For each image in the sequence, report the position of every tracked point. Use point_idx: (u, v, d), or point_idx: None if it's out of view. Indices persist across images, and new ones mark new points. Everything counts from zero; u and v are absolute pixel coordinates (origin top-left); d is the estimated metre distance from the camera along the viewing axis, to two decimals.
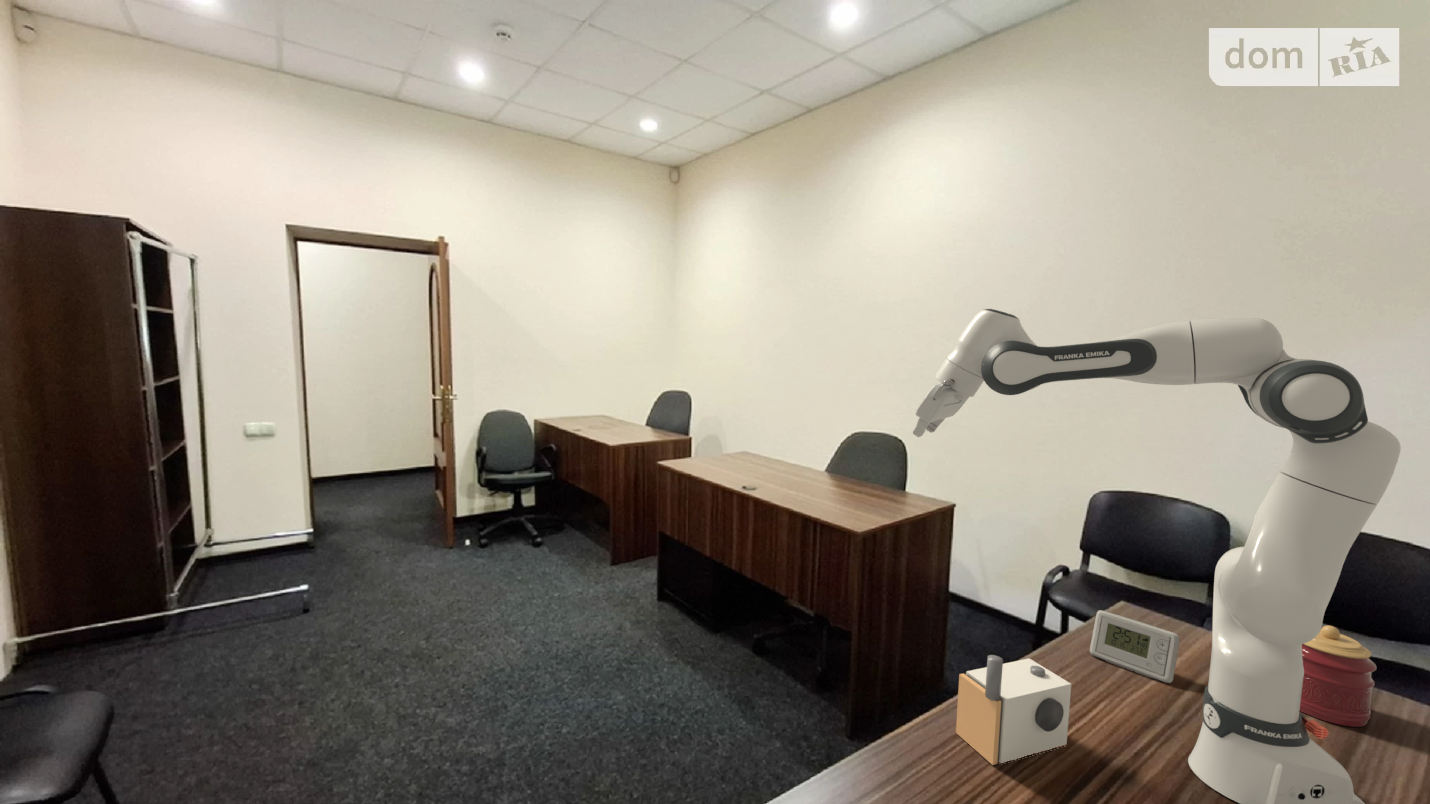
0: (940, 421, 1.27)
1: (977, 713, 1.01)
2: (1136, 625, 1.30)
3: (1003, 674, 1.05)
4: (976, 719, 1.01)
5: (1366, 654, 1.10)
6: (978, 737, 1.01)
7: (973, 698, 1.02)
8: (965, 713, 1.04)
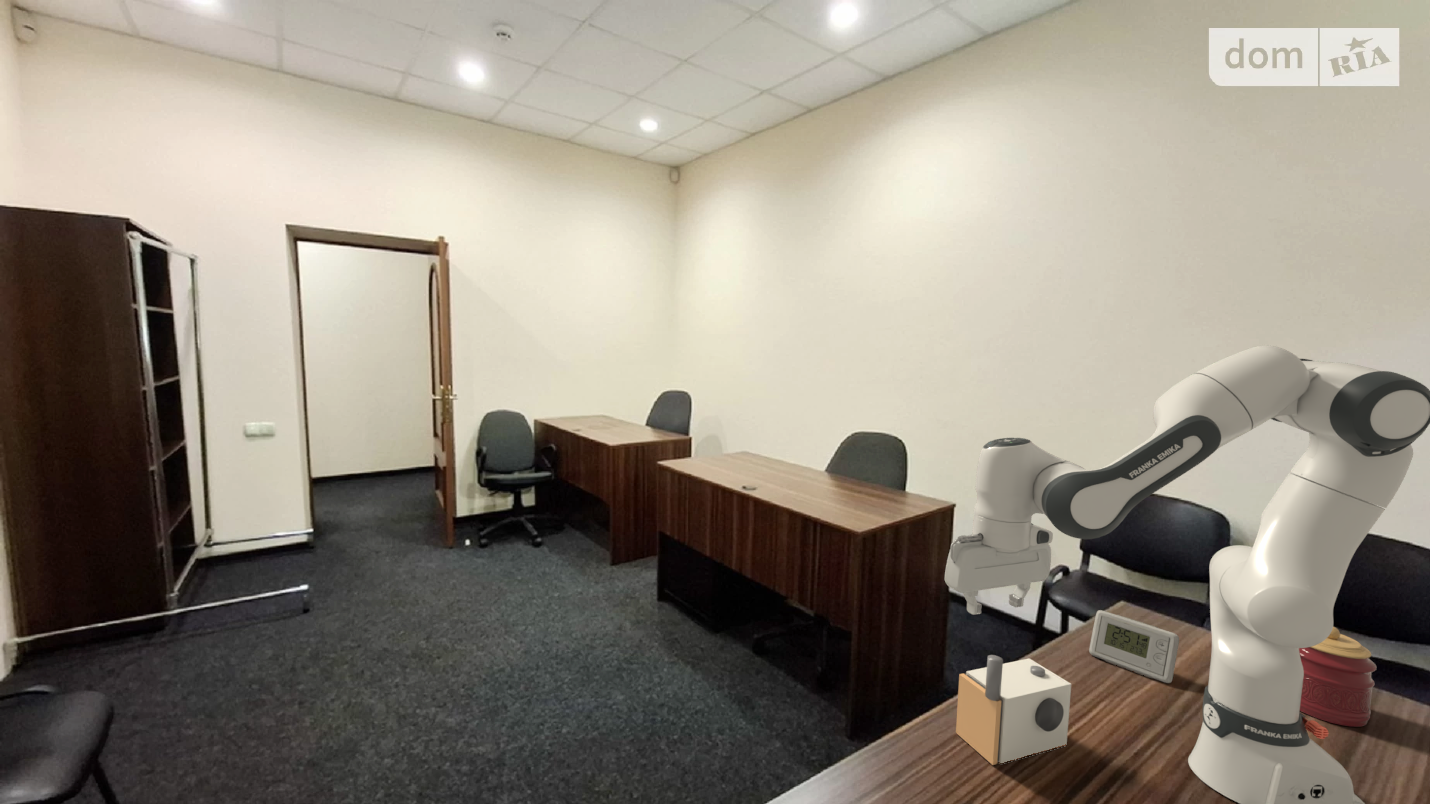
0: (1024, 590, 0.98)
1: (977, 713, 1.01)
2: (1136, 625, 1.30)
3: (1003, 674, 1.05)
4: (976, 719, 1.01)
5: (1366, 654, 1.10)
6: (978, 737, 1.01)
7: (973, 698, 1.02)
8: (965, 713, 1.04)
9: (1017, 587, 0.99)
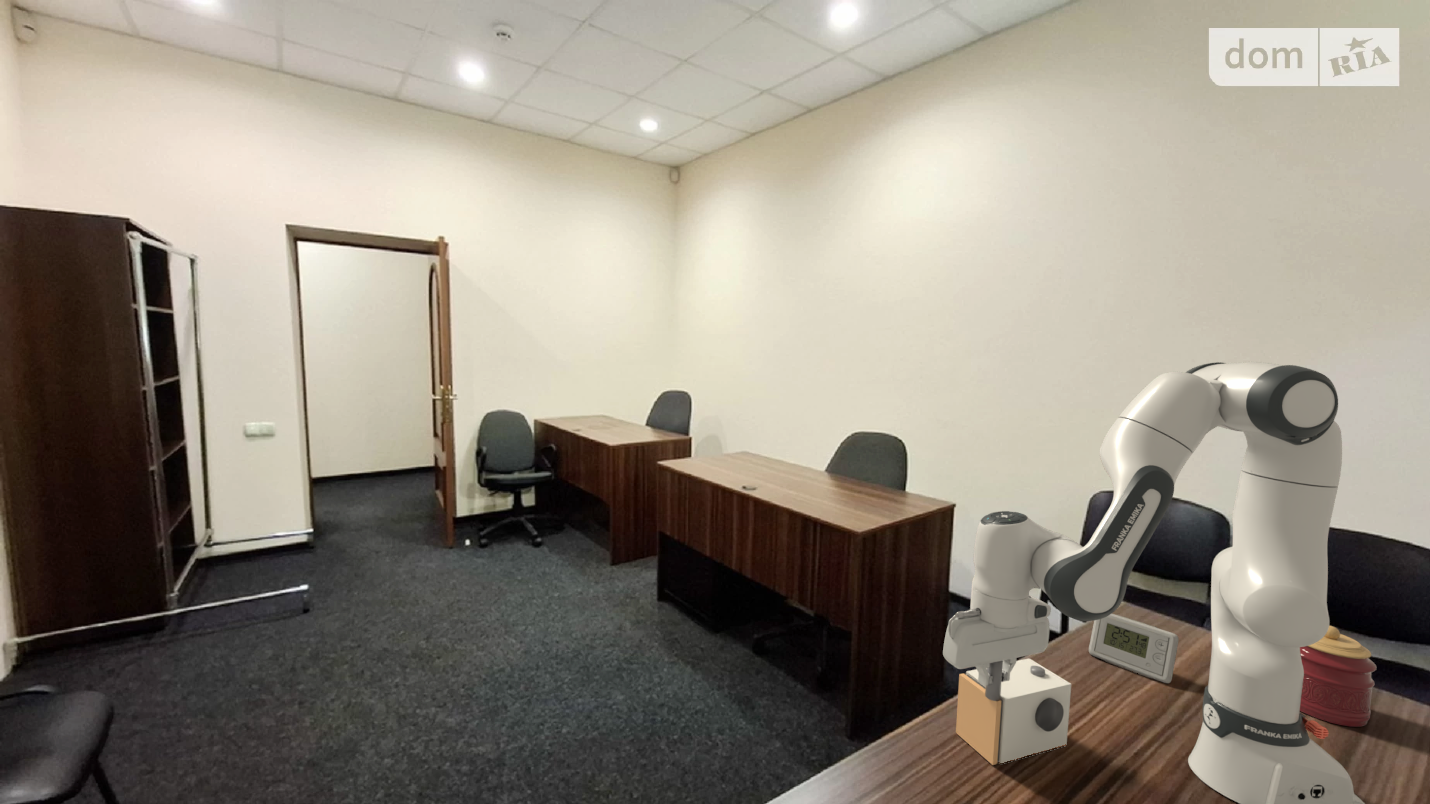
0: (1010, 664, 0.98)
1: (977, 713, 1.01)
2: (1135, 625, 1.30)
3: None
4: (976, 719, 1.01)
5: (1366, 654, 1.10)
6: (978, 737, 1.01)
7: (973, 698, 1.02)
8: (965, 713, 1.04)
9: (1003, 660, 0.99)
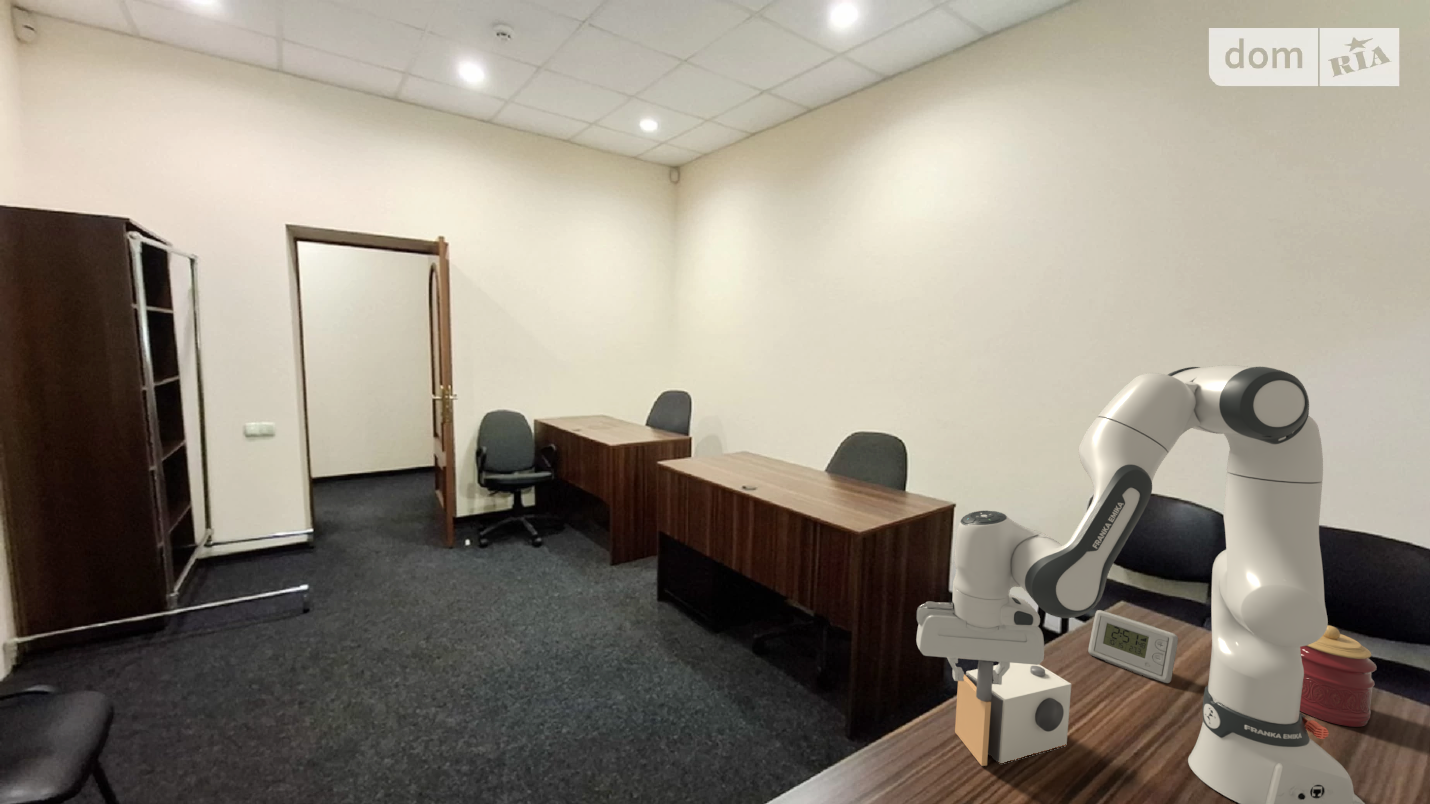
0: (1002, 668, 0.96)
1: (971, 713, 1.01)
2: (1135, 625, 1.30)
3: None
4: (970, 719, 1.01)
5: (1366, 654, 1.10)
6: (971, 737, 1.01)
7: (968, 698, 1.02)
8: (962, 713, 1.04)
9: (999, 664, 0.98)
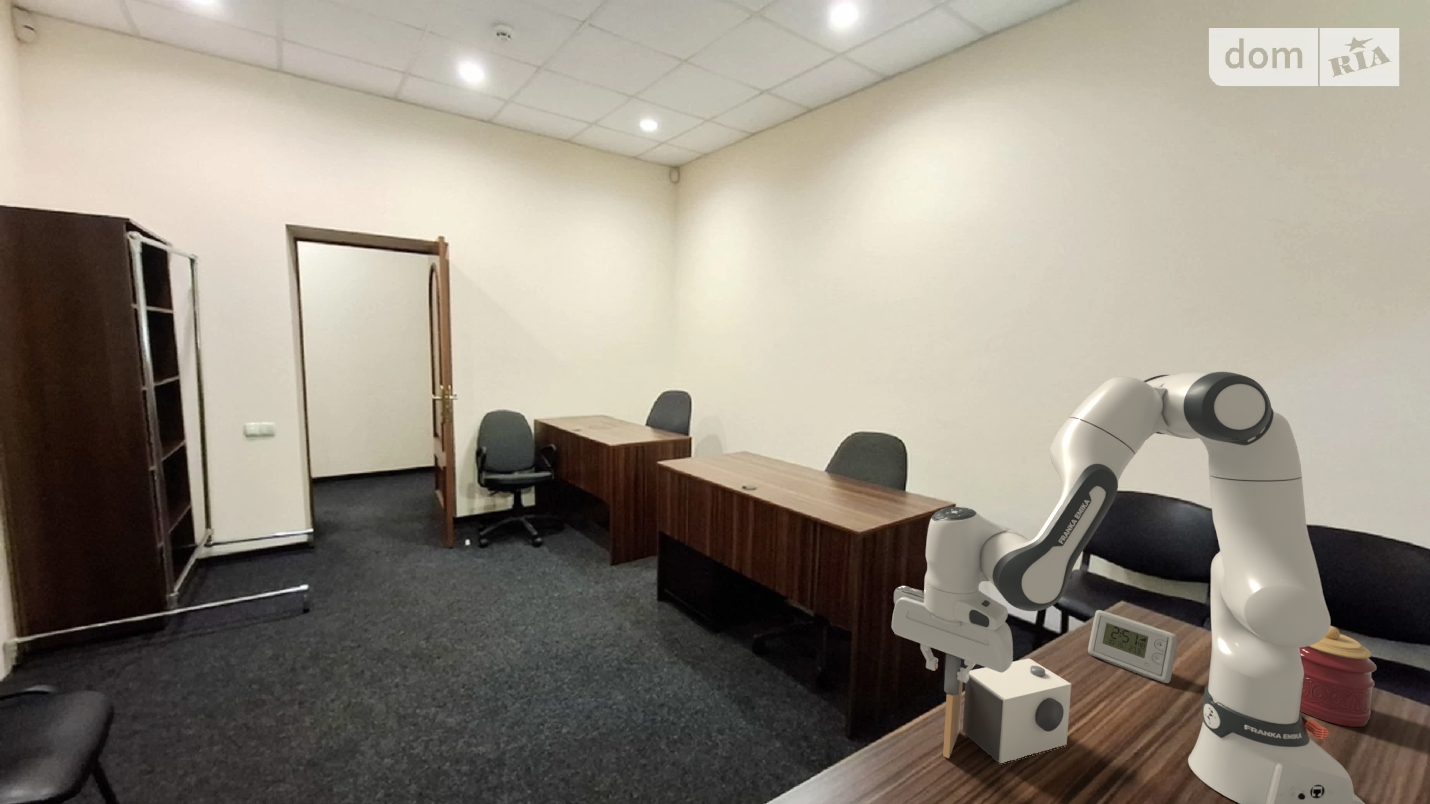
0: (967, 667, 0.97)
1: None
2: (1134, 625, 1.30)
3: (1003, 674, 1.05)
4: None
5: (1366, 654, 1.10)
6: None
7: None
8: None
9: None
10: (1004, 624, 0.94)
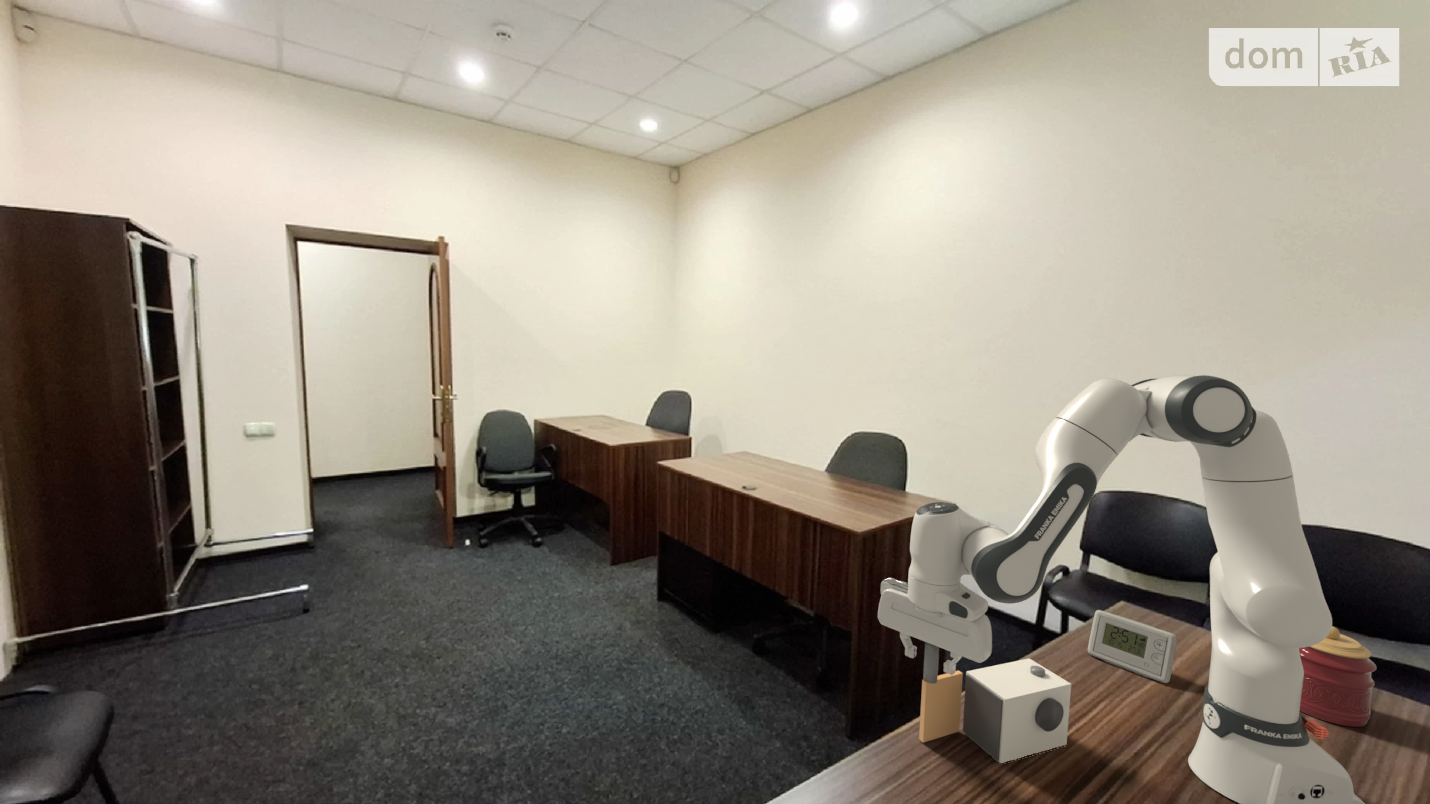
0: None
1: None
2: (1134, 625, 1.30)
3: (1003, 674, 1.05)
4: None
5: (1366, 654, 1.10)
6: None
7: None
8: None
9: None
10: (984, 616, 0.97)
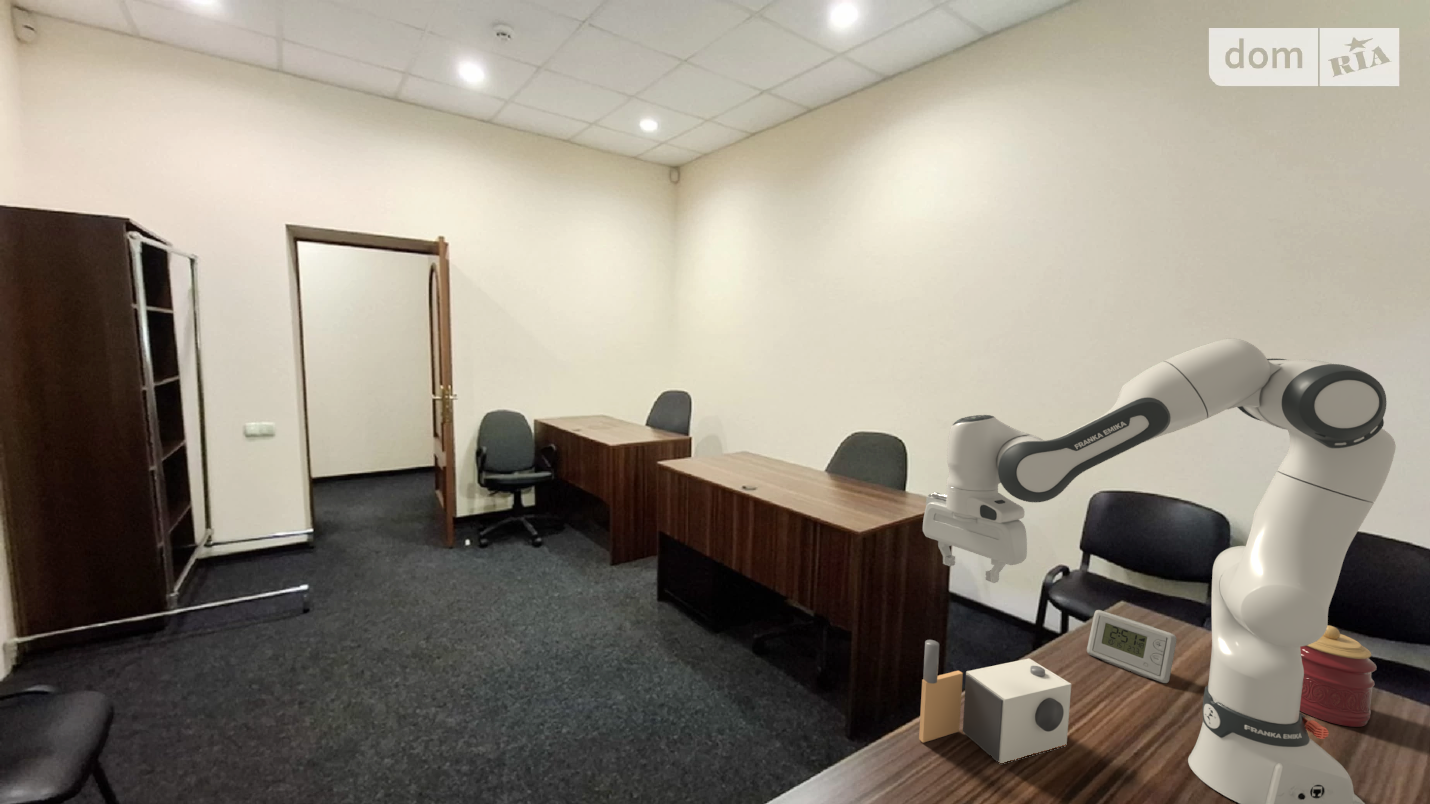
0: None
1: None
2: (1133, 625, 1.30)
3: (1003, 674, 1.05)
4: None
5: (1366, 654, 1.10)
6: None
7: None
8: None
9: None
10: (1018, 522, 0.99)
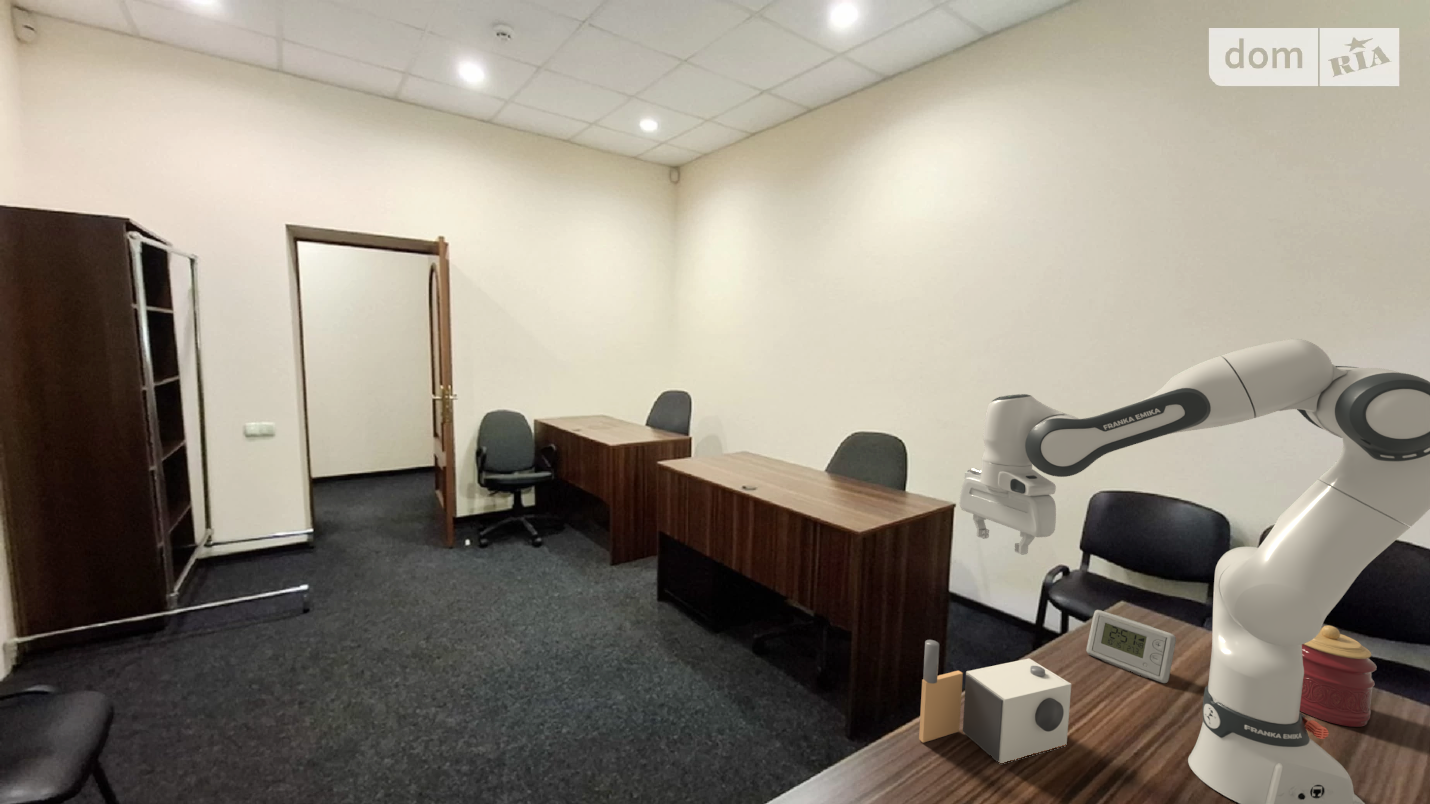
0: None
1: None
2: (1133, 625, 1.30)
3: (1003, 674, 1.05)
4: None
5: (1366, 654, 1.10)
6: None
7: None
8: None
9: None
10: (1048, 497, 1.02)
